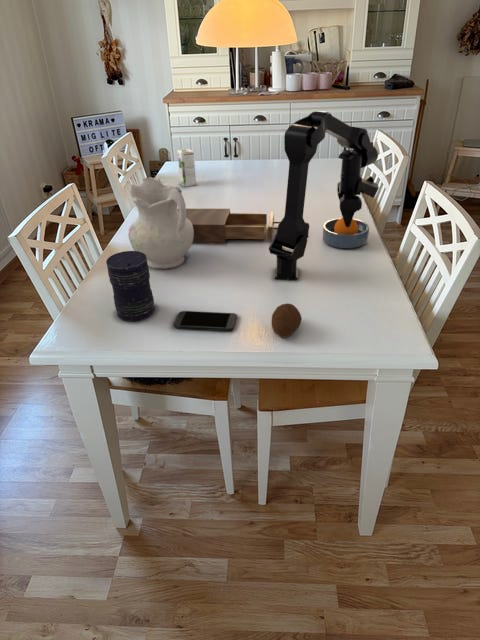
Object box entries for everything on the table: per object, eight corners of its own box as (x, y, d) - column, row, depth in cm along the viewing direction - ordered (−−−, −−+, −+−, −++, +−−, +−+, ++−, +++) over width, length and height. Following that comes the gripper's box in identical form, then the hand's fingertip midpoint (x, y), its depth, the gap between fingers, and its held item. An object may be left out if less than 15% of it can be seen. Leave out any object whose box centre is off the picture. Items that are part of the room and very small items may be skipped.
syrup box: (180, 183, 214) (176, 150, 206) (192, 181, 216) (189, 148, 208) (184, 187, 210) (180, 153, 202) (197, 184, 212) (194, 150, 204)
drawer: (286, 225, 167) (286, 211, 164) (285, 241, 156) (285, 227, 153) (224, 224, 170) (223, 211, 167) (218, 240, 158) (217, 226, 156)
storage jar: (114, 306, 127) (103, 255, 119) (150, 298, 130) (142, 247, 122) (120, 325, 120) (108, 272, 111) (158, 316, 122) (150, 263, 114)
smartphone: (179, 312, 123) (179, 309, 123) (237, 315, 121) (237, 312, 121) (172, 328, 117) (171, 325, 117) (233, 332, 115) (233, 329, 115)
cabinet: (231, 226, 170) (230, 208, 167) (225, 243, 158) (224, 224, 155) (179, 226, 172) (177, 208, 169) (170, 243, 160) (167, 224, 157)
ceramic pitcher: (214, 260, 151) (211, 179, 139) (176, 282, 136) (169, 194, 124) (159, 247, 160) (152, 171, 148) (118, 267, 146) (107, 184, 134)
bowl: (369, 250, 150) (371, 235, 147) (323, 249, 151) (324, 235, 149) (365, 232, 161) (366, 218, 159) (322, 232, 163) (322, 217, 160)
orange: (357, 245, 153) (360, 226, 148) (333, 245, 154) (335, 225, 148) (355, 232, 158) (358, 212, 153) (332, 231, 159) (334, 212, 154)
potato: (301, 318, 119) (302, 293, 115) (301, 343, 110) (302, 317, 107) (273, 317, 120) (273, 292, 116) (270, 341, 111) (270, 316, 108)
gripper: (382, 181, 135) (376, 233, 144) (374, 162, 151) (369, 210, 159) (342, 181, 137) (338, 232, 145) (338, 163, 152) (335, 210, 161)
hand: (346, 221), depth 153 cm, fingers open, 9 cm apart
